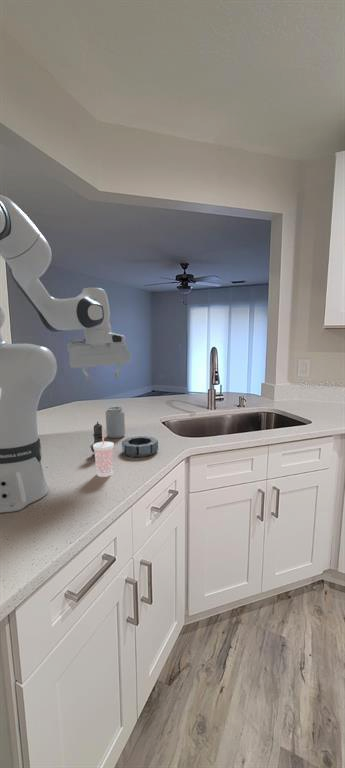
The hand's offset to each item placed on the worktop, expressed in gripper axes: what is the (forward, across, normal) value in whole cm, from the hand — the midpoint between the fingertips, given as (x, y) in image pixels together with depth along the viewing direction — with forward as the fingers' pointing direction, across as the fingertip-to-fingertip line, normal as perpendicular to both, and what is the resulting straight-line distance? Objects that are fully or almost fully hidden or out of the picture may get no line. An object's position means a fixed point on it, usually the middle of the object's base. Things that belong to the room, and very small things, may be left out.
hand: (102, 378), depth 115 cm
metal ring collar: (+27, +11, -3) cm, 29 cm away
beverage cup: (+26, -2, -20) cm, 32 cm away
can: (+28, +3, +19) cm, 34 cm away
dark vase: (+26, -3, -3) cm, 27 cm away
